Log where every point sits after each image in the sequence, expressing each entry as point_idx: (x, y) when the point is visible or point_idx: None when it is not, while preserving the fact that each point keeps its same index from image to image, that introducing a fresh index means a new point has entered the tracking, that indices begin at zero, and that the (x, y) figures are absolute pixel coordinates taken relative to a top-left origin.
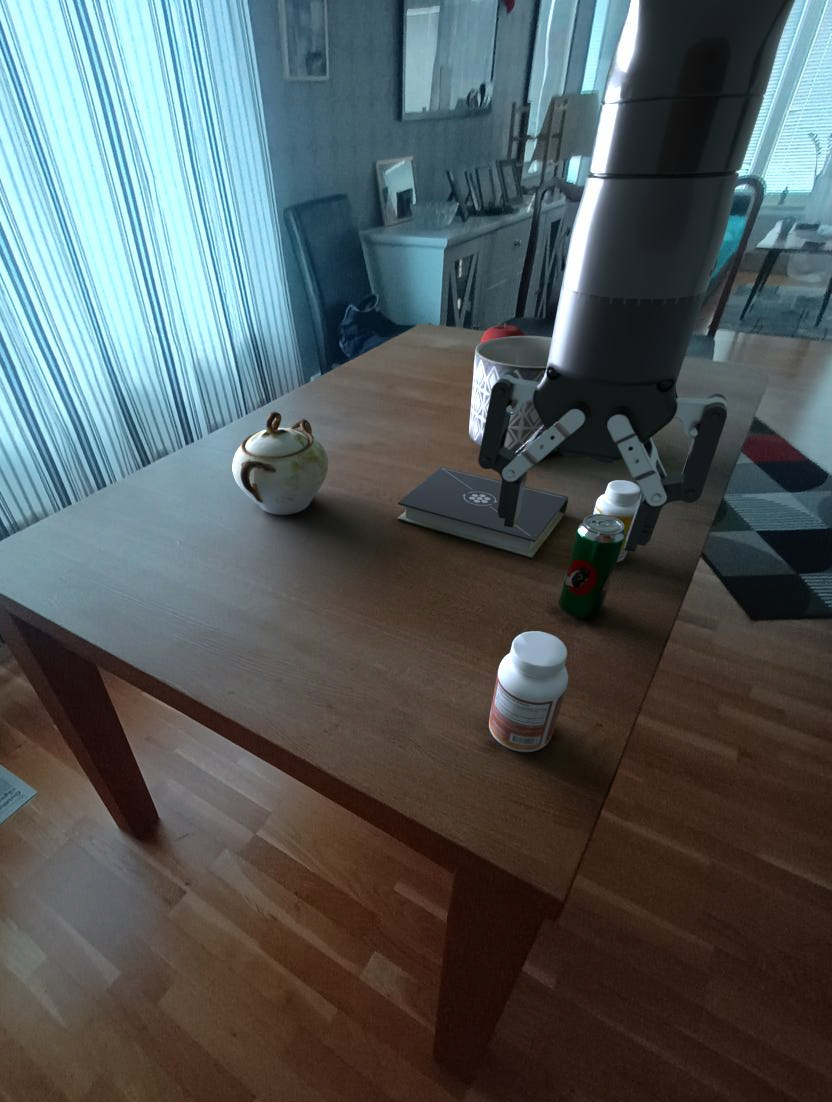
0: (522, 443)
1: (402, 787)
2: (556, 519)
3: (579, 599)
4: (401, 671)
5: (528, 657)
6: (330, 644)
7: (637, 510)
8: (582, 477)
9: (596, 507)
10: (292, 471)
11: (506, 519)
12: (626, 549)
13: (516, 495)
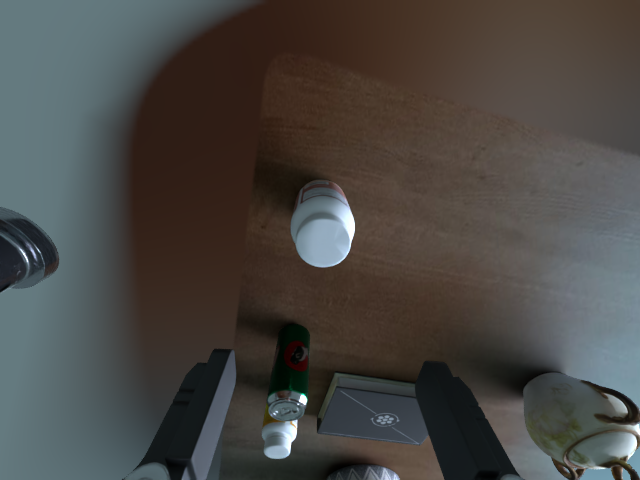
0: (359, 477)
1: (407, 109)
2: (322, 411)
3: (295, 337)
4: (423, 234)
5: (332, 227)
6: (488, 245)
7: (197, 441)
8: (309, 451)
9: (295, 427)
10: (575, 418)
11: (448, 374)
12: (228, 350)
13: (466, 434)
